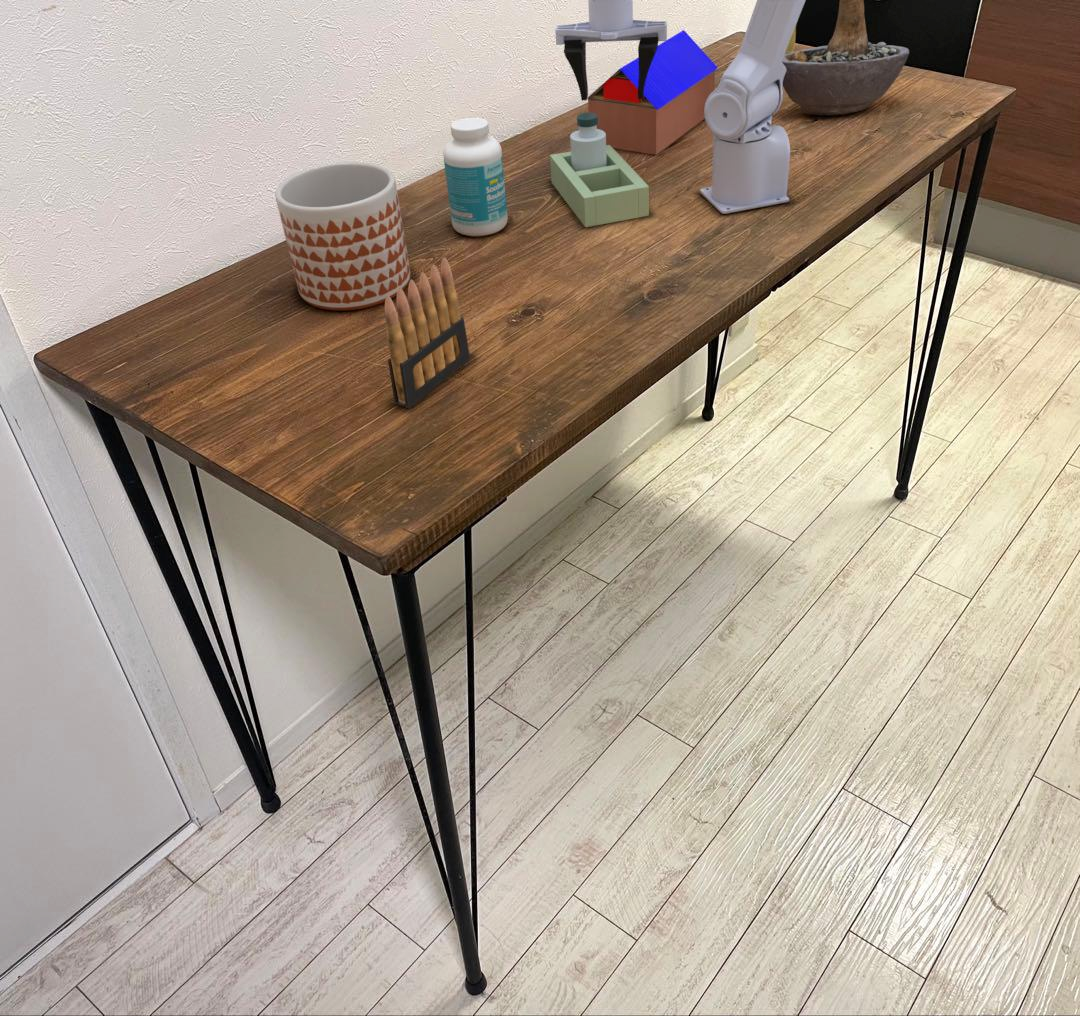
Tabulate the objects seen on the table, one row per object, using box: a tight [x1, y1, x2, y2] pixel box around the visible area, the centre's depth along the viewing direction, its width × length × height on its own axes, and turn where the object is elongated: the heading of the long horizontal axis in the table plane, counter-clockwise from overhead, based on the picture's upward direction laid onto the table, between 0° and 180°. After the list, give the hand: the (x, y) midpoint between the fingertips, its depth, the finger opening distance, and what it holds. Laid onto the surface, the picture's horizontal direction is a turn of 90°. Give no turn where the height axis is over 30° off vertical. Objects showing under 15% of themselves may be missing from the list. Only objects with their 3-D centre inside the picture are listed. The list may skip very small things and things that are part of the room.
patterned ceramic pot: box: [274, 161, 412, 312], centre depth 120 cm, size 14×14×13 cm
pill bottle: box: [442, 117, 509, 237], centre depth 130 cm, size 8×7×14 cm
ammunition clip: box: [384, 256, 471, 409], centre depth 102 cm, size 11×2×12 cm, turn 147°
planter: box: [782, 0, 910, 116], centre depth 152 cm, size 15×17×20 cm
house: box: [587, 29, 719, 156], centre depth 154 cm, size 12×20×12 cm, turn 147°
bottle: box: [569, 112, 607, 172], centre depth 139 cm, size 5×5×10 cm
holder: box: [549, 145, 650, 228], centre depth 138 cm, size 9×16×4 cm, turn 15°
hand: (612, 97), depth 139 cm, fingers open, 7 cm apart
